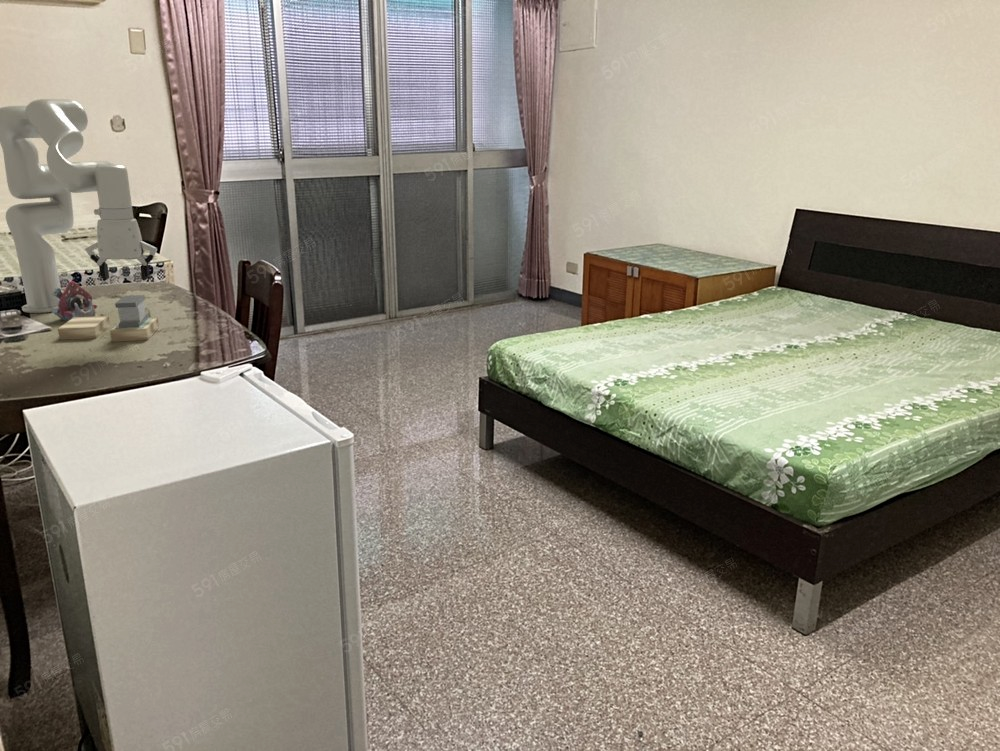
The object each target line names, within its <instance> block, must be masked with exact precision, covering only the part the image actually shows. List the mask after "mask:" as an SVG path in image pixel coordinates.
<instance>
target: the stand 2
mask: <svg viewBox="0 0 1000 751" xmlns="http://www.w3.org/2000/svg"><path fill="white" fill-rule="evenodd" d="M159 329H160V324H159V318H158V317H148V319H147V320H146V321H145V322H144V323H143V324H142V325H141V326H140V327H128V328H119V324H118V323H117V324H115V325H114V326H113V327H112V328H111V329H109V333H110V339H111V342H127V341H130V342H132V341H134V342H135V341H148V340H150V339H151V337H153V335H154V334H155V333H156V332H157V331H158V330H159Z"/></svg>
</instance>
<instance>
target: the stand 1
mask: <svg viewBox="0 0 1000 751" xmlns="http://www.w3.org/2000/svg"><path fill="white" fill-rule="evenodd" d="M110 327H111V324H110V318H109V315H102V316H101V315H98V316H94V317H74V318H72V319H71V320H69V321H66V322H65V323H64V324H63V325H61V326H59V327H58V328H57V333H58V338H59V340H63V341H64V340H83V339H84V340H85V339H97V338H98V337H100V335H102V334H103V333H104V332H105V331H106V330H108V329H109V328H110Z"/></svg>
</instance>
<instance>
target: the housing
mask: <svg viewBox="0 0 1000 751" xmlns="http://www.w3.org/2000/svg"><path fill="white" fill-rule="evenodd" d="M145 300H146V297H145V294H141V295H138V294H136V295H123V297H121V298H120V299H119V300H118V301H116V302H115V303H114V305H115V309H117V311H118V312H117V313H118V318H119V322H118V323H117V324H119V328H128V327H140V326H141V325H142V324H143V323H144V322H145V321H146V320H147V319H148V318H149V316H148V314H147V313H146V307H145Z"/></svg>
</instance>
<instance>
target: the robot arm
mask: <svg viewBox="0 0 1000 751" xmlns="http://www.w3.org/2000/svg"><path fill="white" fill-rule="evenodd" d="M88 118H89V117H88V114H87V112H86V110H85V109H84V107H83V106H82V105H81V103H79V102H77V101H76V100H73V99H53V98H52V99H51V98H46V99H45V98H44V99H43V98H42V99H41V98H40V99H36V100H32V101H31V102H29V103H28V104H27V105H8V106H1V107H0V145H1V149H2V153H3V160H4V161H3V162H4V169H5V174H6V175H5V176H6V182H7V187H8V191H9V193H10V194H11V195H12V196H13V198H15V199H20V200H35V199H49V201H36V202H26V203H25V202H24V203H18V204H14V205H12V206H10V207H9V208H8V209H7V210H6V211H5V220H6V224H7V227H8V229H9V231H10V234H11V237H12V239H13V243H14V246H15V247H14V248H15V251H16V255H17V260H18V265H19V269H20V270H19V271H20V275H21V279H22V284H23V290H24V293H25V299H26V304H24V305H23V306H22V307H21V310H22V311H23V312H24V313H28V314H29V313H30V314H41V313H43V314H45V313H50V312H51V310H53V309H59V307H58V298H57V297H55V296H54V295H53V292H54V291H55V288H60V289H61V282H60V277H59V273H58V268H57V261H56V257H55V252H54V249H53V247H52V246H51V245H50V243H48V241H47V240H45V239H44V238H43V236H47V235H54V234H61V233H62V234H63V233H67V232H69V231H71V229H72V228H73V226H74V210H73V200H72V193H73V194H75V193H76V194H78V193H79V194H81V193H90V192H91V193H93V192H94V193H95V192H97V200H98V206H99V207H98V208H97V209H94V210H93V213H94V215H95V216H99V218H100V219H98V220H97V222H96V223H97V224H96V227H97V229H96V236H97V241H96V242H95V243H93V244H91V245H90V246H89V245H88V246H86V247H85V249H84V250H85V251H86V253H87V255H88V256H89V258H90V259H91V260H92V261H94V263H95V264H96V265H97V266H98V268H99V275H100V277H101V278H102V281H104V282H105V281H107V280H108V279H110V273H109V266H108V263H106V262H107V260H137V261H138V262H139V263H140V264H141V265H140V274H141V275H140V276H141V281H143V282H144V281H147V279H149V277H150V269H149V268H150V267H149V264H150V262H151V261H152V260H154V259H155V256H156V254H157V251H158V247H155V246H154V245H151V244H149V243H147V242H145V241H143V238H142V237H143V236H142V234H141V229H140V227H139V224H138V221H137V219H136V218H134V212H133V205H132V196H131V187H130V182H129V173H128V169H127V168H126V166H124V165H122V164H115V163H113V162H110V161H107V160H106V161H105V160H99V161H98V160H96V161H90V160H89V161H73V162H72V161H68V160H67V159H70V158H71V157H73V156H75V155H77V154H78V153H79V152H80V151H81V149H83V146H84V142H85V141H84V140H85V139H84V136H83V134H82V133H83V132H84V131H85V130H86V129H87V127H88V121H89V120H88ZM31 139H42V140H43V141H44V143H46V145H47V146H48V148H47V150H46V163H47V164H45V163H43V164H40V158H39V151H38V149H37V147H36V145H35V143H34V142H32V140H31ZM96 249H97V251H98V254H97V253H96V252H95V250H96ZM145 250H148V251H149V254H148V256H146V255H144V253H145ZM61 292H62V293H64V290H62V289H61ZM51 313H52V312H51Z"/></svg>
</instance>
